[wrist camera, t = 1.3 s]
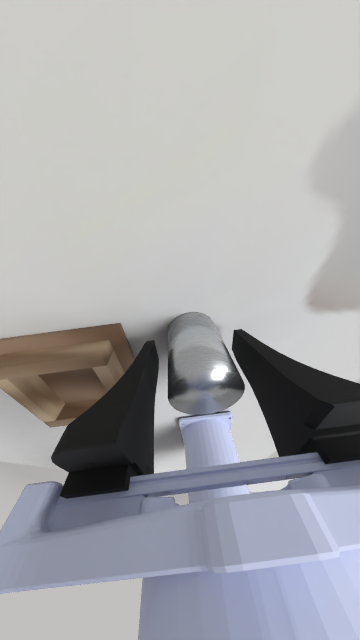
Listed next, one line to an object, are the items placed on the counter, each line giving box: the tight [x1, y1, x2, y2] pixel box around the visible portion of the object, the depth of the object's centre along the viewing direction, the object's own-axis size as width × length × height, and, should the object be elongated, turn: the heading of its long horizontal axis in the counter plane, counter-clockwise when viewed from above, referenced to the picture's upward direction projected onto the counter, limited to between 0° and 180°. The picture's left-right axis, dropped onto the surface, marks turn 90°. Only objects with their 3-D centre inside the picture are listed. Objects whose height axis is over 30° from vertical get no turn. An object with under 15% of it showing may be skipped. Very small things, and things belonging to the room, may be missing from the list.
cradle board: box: [0, 323, 135, 427], centre depth 15 cm, size 12×12×3 cm
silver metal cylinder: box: [168, 312, 245, 415], centre depth 11 cm, size 4×4×6 cm
